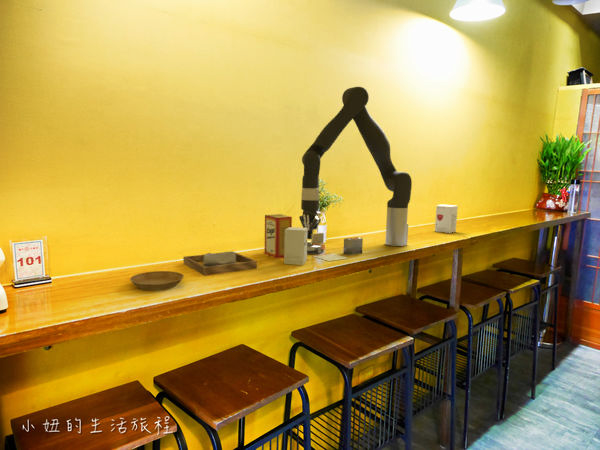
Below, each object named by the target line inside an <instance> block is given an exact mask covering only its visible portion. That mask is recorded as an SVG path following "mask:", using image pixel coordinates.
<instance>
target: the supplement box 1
mask: <svg viewBox="0 0 600 450" xmlns="http://www.w3.org/2000/svg"><path fill="white" fill-rule="evenodd" d="M307 231H308V228H303V227H295V226H292V227H289V228H287V229H286V230H285V240H284V258H283V265H284V264H285V265H296V266H303V265H304V264H305V263H306V262H307V261H308V260H307V258H308V254H307V242H308V239H307Z"/></svg>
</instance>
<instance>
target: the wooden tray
mask: <svg viewBox="0 0 600 450" xmlns="http://www.w3.org/2000/svg"><path fill="white" fill-rule="evenodd" d="M223 252H224V251H223ZM223 252H215V253H212V254H220V253H223ZM230 252H234V253H236V263H233V264H225V265H218V266H210V267H205V266H204V265H203V264H201V263H203V259H204V255H205V254H206V253H204V254H196V255H187V256H186V255H185V256H182V257H183V265H186V267H188V266H189V268H190V269H193V270H194V271H195V272H198V273H199V274H201V275H203V276H213V275H218V274H226V273H233V272H240V271H246V270H248V271H249V270H255V269H257V268H258V260H255V259H252V258H250V257H247V256H245V255H242V254H240V253H237V252H235V251H233V250H231V251H230ZM198 262H199V263H198Z"/></svg>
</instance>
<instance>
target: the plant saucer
mask: <svg viewBox="0 0 600 450" xmlns="http://www.w3.org/2000/svg"><path fill="white" fill-rule="evenodd" d="M183 279H184V274H183V273H180V272H177V271H170V270H169V271H168V270H159V271H148V272H147V271H146V272H141V273H137V274H134V275H133V276H131V277H130V279H129V281H130V282H131V283H132V284H133V285H134V286H135V287H136V288H138V289H139V288H140V290H142V289H143V291H163V290H169V289H172V288H174V287H176V286H177V285H179V284H180V283H181V282H182V280H183Z"/></svg>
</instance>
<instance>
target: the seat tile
mask: <svg viewBox="0 0 600 450" xmlns="http://www.w3.org/2000/svg"><path fill="white" fill-rule="evenodd" d="M312 257H313V258H316V259H320V260H322V261H326V262H334V261H340V260H347V259H348V260H349V257H348V256H347V257H346V256H344V255H339V254H336V253H333V252H332V253H322V254H315V255H312Z"/></svg>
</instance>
